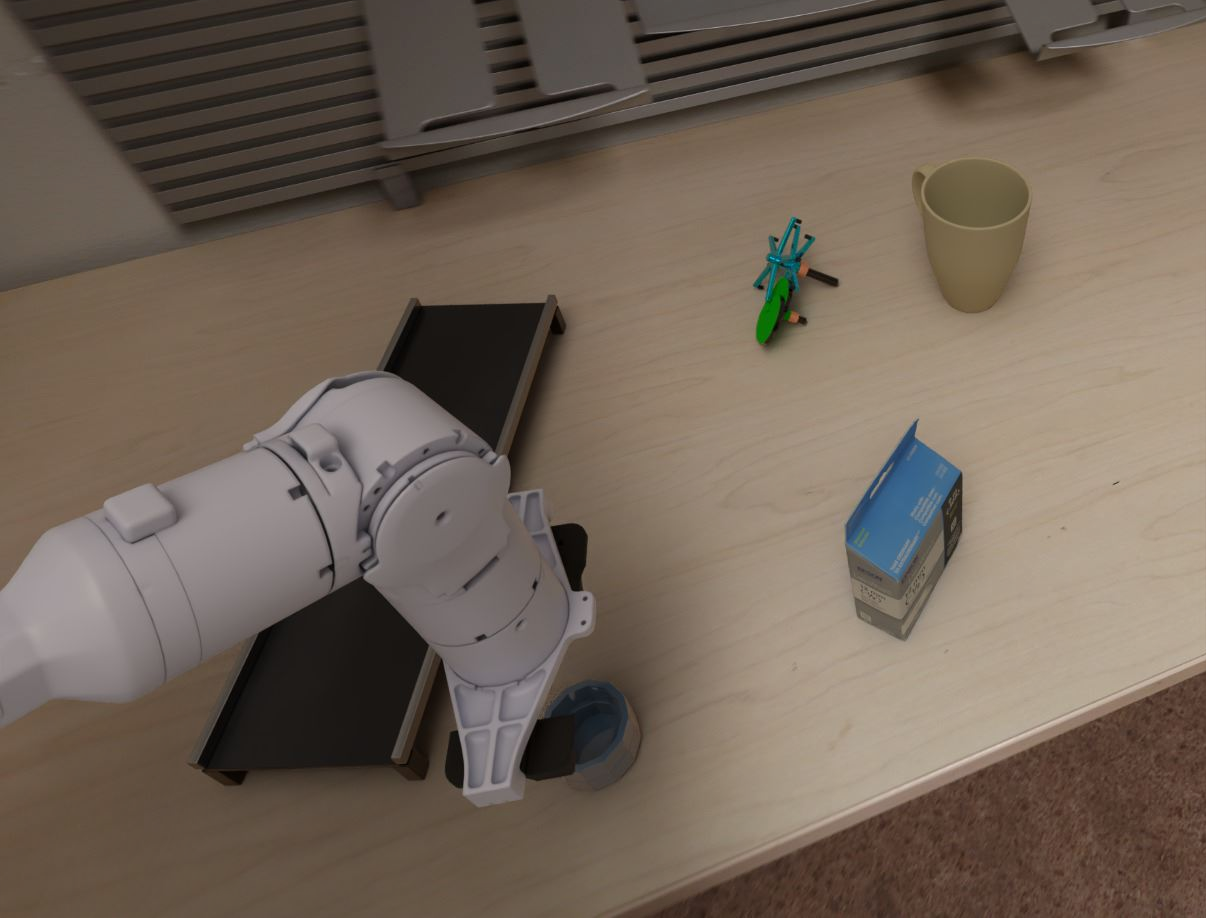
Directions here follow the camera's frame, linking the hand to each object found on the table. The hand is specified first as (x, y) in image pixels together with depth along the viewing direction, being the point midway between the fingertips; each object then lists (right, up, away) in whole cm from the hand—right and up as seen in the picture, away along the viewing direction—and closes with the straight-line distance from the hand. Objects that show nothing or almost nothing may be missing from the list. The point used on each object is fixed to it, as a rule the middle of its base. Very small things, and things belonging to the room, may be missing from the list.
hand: (561, 694), depth 51 cm
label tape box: (+19, +2, +14) cm, 24 cm away
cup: (0, -6, +6) cm, 9 cm away
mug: (+24, +21, +33) cm, 46 cm away
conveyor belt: (-16, +5, +18) cm, 25 cm away
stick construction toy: (+9, +19, +32) cm, 39 cm away
